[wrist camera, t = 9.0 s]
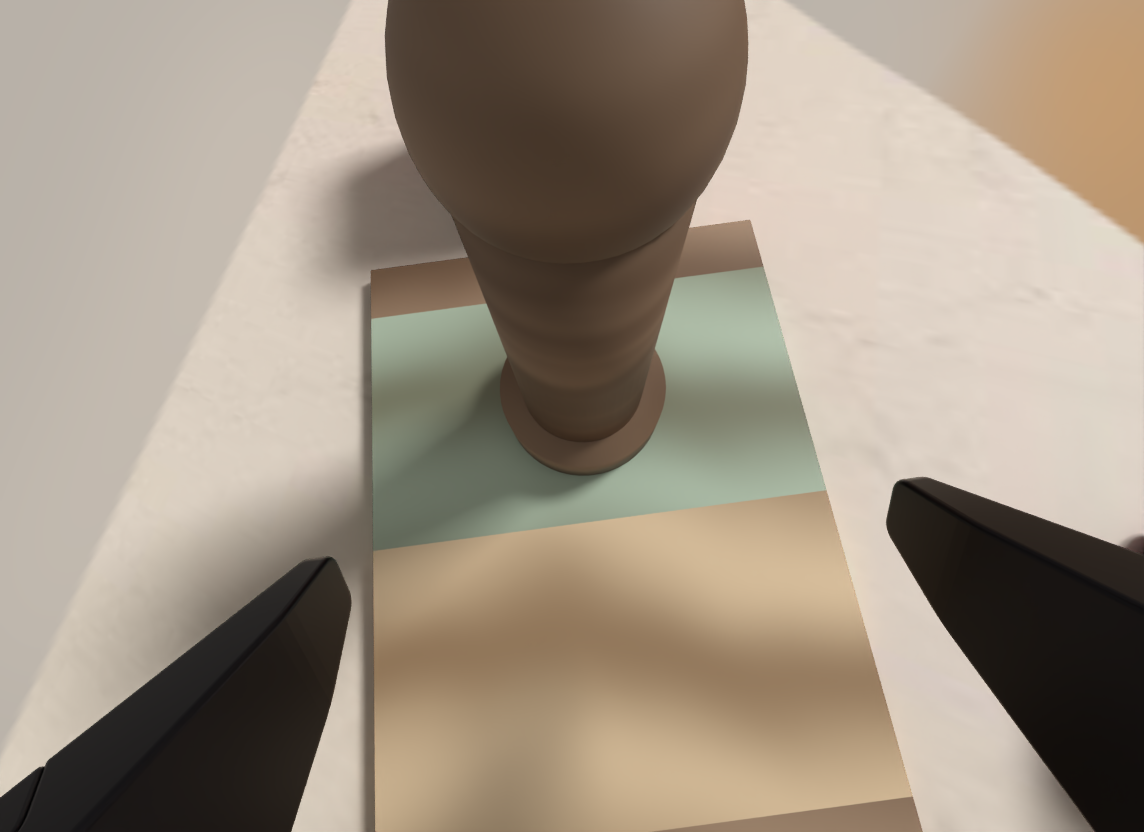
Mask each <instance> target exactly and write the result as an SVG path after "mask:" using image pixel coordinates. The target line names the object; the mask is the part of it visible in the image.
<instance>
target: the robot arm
mask: <svg viewBox="0 0 1144 832" xmlns="http://www.w3.org/2000/svg"><path fill="white" fill-rule="evenodd" d="M886 526H887V531H888V533H889V536H890V538H891V539H892V541H893V543H894V544H895V546H896V548H897V549H898V551H899V553H900V554H901V556H902V558H903V559H904V561H905V563H906V564H907V566H908V568H909V570H910V571H911V573H912V575H913V576H914V578H915V580H916V581H917V583H918V585H919V586H920V588H921V590H922V591H923V593H924V595H925V596H926V598H927V600H928V601H929V603H930V605H931V606H932V608H933V610H934V611H935V613H936V614H937V616H938V617H939V619H940V621H941V622H942V624H943V625H944V626H945V628H946V629H947V631H948V632H949V634H950V635H951V636H952V638H953V639H954V641H955V642H956V643H957V645H958V646H959V647H960V649H961V650H962V651H963V653H964V654H965V656H966V657H967V658H968V660H969V661H970V662H971V664H972V665H973V666H974V668H975V669H976V671H977V672H978V673H979V675H980V676H981V677H982V679H983V680H984V681H985V683H986V684H987V685H988V687H989V688H990V690H991V691H992V692H993V694H994V695H995V696H996V698H997V699H998V700H999V702H1000V703H1001V705H1002V706H1003V707H1004V709H1005V710H1006V711H1007V713H1008V714H1009V715H1010V717H1011V718H1012V720H1013V721H1014V722H1015V724H1016V725H1017V726H1018V728H1019V729H1020V730H1021V732H1022V733H1023V734H1024V736H1025V737H1026V739H1027V740H1028V741H1029V743H1030V744H1031V745H1032V747H1033V748H1034V749H1035V751H1036V752H1037V754H1038V755H1039V756H1040V758H1041V759H1042V760H1043V762H1044V763H1045V764H1046V766H1047V767H1048V769H1049V770H1050V771H1051V773H1052V774H1053V775H1054V777H1055V778H1056V779H1057V781H1058V782H1059V784H1060V785H1061V786H1062V788H1063V789H1064V790H1065V792H1066V793H1067V794H1068V796H1069V797H1070V798H1071V800H1072V801H1073V803H1074V804H1075V805H1076V807H1077V808H1078V809H1079V811H1080V812H1081V813H1082V815H1083V816H1084V818H1085V819H1086V820H1087V822H1088V823H1089V824H1090V826H1091V827H1092V828H1093V830H1094V831H1095V832H1144V555H1142V554H1140V553H1137V552H1134V551H1131V550H1129V549H1126V548H1123V547H1120V546H1117V545H1115V544H1112V543H1109V542H1106V541H1103V540H1101V539H1098V538H1095V537H1092V536H1090V535H1087V534H1084V533H1081V532H1078V531H1076V530H1073V529H1070V528H1067V527H1064V526H1062V525H1059V524H1056V523H1053V522H1051V521H1048V520H1045V519H1042V518H1039V517H1037V516H1034V515H1031V514H1028V513H1025V512H1023V511H1020V510H1017V509H1014V508H1012V507H1009V506H1006V505H1003V504H1000V503H998V502H995V501H992V500H989V499H987V498H984V497H981V496H978V495H975V494H973V493H970V492H967V491H964V490H961V489H959V488H956V487H953V486H950V485H948V484H945V483H942V482H939V481H936V480H934V479H931V478H928V477H916V478H909V479H902V480H899V481H897V482H896V484H895V485H894V487H893V491H892V496H891V500H890V505H889V510H888V514H887V519H886ZM350 611H351V595H350V591H349V589H348V587H347V584H346V582H345V580H344V578H343V575H342V573H341V571H340V568H339V566H338V564H337V562H336V560H335V559H334V558H332V557H329V556H326V557H318V558H310V559H306V560H304V561H302V562H301V563H299V564H298V565H297V566H296V567H294V568H293V569H292V570H290V571H289V572H288V573H287V574H285V575H284V576H283V577H282V578H280V579H279V580H278V581H276V582H275V583H274V584H273V585H271V586H270V587H269V588H267V589H266V590H265V591H264V592H262V593H261V594H260V595H259V596H257V597H256V598H255V599H253V600H252V601H251V602H250V603H248V604H247V605H246V606H244V607H243V608H242V609H241V610H239V611H238V612H237V613H236V614H234V615H233V616H232V617H230V618H229V619H228V620H227V621H225V622H224V623H223V624H221V625H220V626H219V627H218V628H216V629H215V630H214V631H213V632H211V633H210V634H209V635H207V636H206V637H205V638H204V639H202V640H201V641H200V642H198V643H197V644H196V645H195V646H193V647H192V648H191V649H190V650H188V651H187V652H186V653H184V654H183V655H182V656H181V657H179V658H178V659H177V660H175V661H174V662H173V663H172V664H170V665H169V666H168V667H167V668H165V669H164V670H163V671H161V672H160V673H159V674H158V675H156V676H155V677H154V678H152V679H151V680H150V681H149V682H147V683H146V684H145V685H144V686H142V687H141V688H140V689H138V690H137V691H136V692H135V693H133V694H132V695H131V696H129V697H128V698H127V699H126V700H124V701H123V702H122V703H121V704H119V705H118V706H117V707H115V708H114V709H113V710H112V711H110V712H109V713H108V714H106V715H105V716H104V717H103V718H101V719H100V720H99V721H98V722H96V723H95V724H94V725H92V726H91V727H90V728H89V729H87V730H86V731H85V732H83V733H82V734H81V735H80V736H78V737H77V738H76V739H75V740H73V741H72V742H71V743H69V744H68V745H67V746H66V747H64V748H63V749H62V750H60V751H59V752H58V753H57V754H55V755H54V756H53V757H52V758H50V759H49V760H48V761H47V763H46V765H45V767H39V768H37V769H36V770H35V771H33V772H32V773H31V774H30V775H28V776H27V777H26V778H25V779H23V780H22V781H21V782H19V783H18V784H17V785H16V786H14V787H13V788H12V789H11V790H9V791H8V792H7V793H6V794H4V795H3V796H2V797H0V832H291V831H292V827H293V824H294V821H295V818H296V815H297V812H298V808H299V805H300V802H301V799H302V796H303V792H304V789H305V786H306V783H307V780H308V777H309V773H310V770H311V767H312V764H313V761H314V757H315V754H316V751H317V748H318V745H319V742H320V738H321V735H322V732H323V729H324V726H325V722H326V719H327V716H328V712H329V709H330V705H331V702H332V697H333V693H334V689H335V684H336V679H337V674H338V670H339V665H340V660H341V655H342V650H343V645H344V640H345V635H346V630H347V626H348V621H349V616H350Z"/></svg>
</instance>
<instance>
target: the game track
mask: <svg viewBox="0 0 1144 832" xmlns="http://www.w3.org/2000/svg"><path fill="white" fill-rule="evenodd" d="M655 350H656V352H657V354H658V355H659V357H660V360H661V363H662V365H663V369H664V373H665V380H666V395H665V402H664V406H663V410H662V412H661V415H660V418H659V420H658V423H657V425H656V427H655V429H654V432H653V434H652V435H651V437H650V439H649V441H648V442H647V444H646V445H645V446H644V448H643V449H642V450H641V451H640V452H639V453H638V454H637V455H636V456H635V457H634V458H632V459H631V460H630V461H629V462H627V463H625V464H624V465H622V466H620V467H618V468H616V469H614V470H611V471H609V472H605V473H602V474H596V475H589V476H578V475H569V474H565V473H561V472H558V471H555V470H553V469H550V468H548V467H546V466H544V465H543V464H541V463H539V462H538V461H537V460H535V459H534V458H533V457H532V456H531V455H530V454H529V453H528V452H527V451H526V450H525V449H524V448H523V447H522V445H521V444H520V443H519V441H518V439H517V438H516V436H515V434H514V432H513V431H512V429H511V427H510V425H509V423H508V422H507V419H506V417H505V414H504V412H503V408H502V404H501V398H500V379H501V373H502V369H503V366H504V363H505V360H506V358H507V355H506V352H505V350H504V347H503V345H502V342H501V340H500V337H499V335H498V332H497V329H496V327H495V324H494V322H493V319H492V317H491V314H490V312H489V309H488V307H487V304H486V301H485V299H484V296H483V294H482V291H481V289H480V286H479V284H478V281H477V278H476V276H475V273H474V271H473V268H472V266H471V263H470V261H469V258H468V257H467V258H460V259H452V260H445V261H437V262H430V263H422V264H415V265H407V266H400V267H392V268H385V269H377V270H371V358H372V484H373V610H374V737H375V832H923V831H922V828H921V824H920V821H919V817H918V814H917V810H916V807H915V803H914V799H913V796H912V792H911V789H910V785H909V782H908V778H907V775H906V771H905V767H904V764H903V760H902V757H901V753H900V750H899V746H898V743H897V739H896V736H895V732H894V728H893V725H892V721H891V718H890V714H889V711H888V707H887V704H886V700H885V697H884V693H883V689H882V686H881V682H880V679H879V675H878V672H877V668H876V665H875V661H874V657H873V654H872V650H871V647H870V643H869V640H868V636H867V633H866V629H865V626H864V622H863V618H862V615H861V611H860V608H859V604H858V601H857V597H856V594H855V590H854V586H853V583H852V579H851V576H850V572H849V569H848V565H847V562H846V558H845V555H844V551H843V547H842V544H841V540H840V537H839V533H838V530H837V526H836V523H835V519H834V516H833V512H832V508H831V505H830V501H829V498H828V494H827V491H826V487H825V484H824V480H823V476H822V473H821V469H820V466H819V462H818V459H817V455H816V452H815V448H814V445H813V441H812V437H811V434H810V430H809V427H808V423H807V420H806V416H805V413H804V409H803V406H802V402H801V398H800V395H799V391H798V388H797V384H796V381H795V377H794V374H793V370H792V366H791V363H790V359H789V356H788V352H787V349H786V345H785V342H784V338H783V335H782V331H781V327H780V324H779V320H778V317H777V313H776V310H775V306H774V303H773V299H772V295H771V292H770V288H769V285H768V281H767V278H766V274H765V271H764V267H763V264H762V260H761V256H760V253H759V249H758V246H757V242H756V239H755V235H754V232H753V228H752V225H751V221H750V220H745V221H738V222H730V223H723V224H715V225H708V226H700V227H693V228H689V229H688V233H687V236H686V240H685V243H684V247H683V250H682V254H681V258H680V261H679V265H678V268H677V272H676V275H675V279H674V283H673V286H672V290H671V293H670V297H669V300H668V304H667V307H666V311H665V315H664V318H663V322H662V325H661V329H660V332H659V336H658V340H657V343H656V347H655Z"/></svg>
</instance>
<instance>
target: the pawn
mask: <svg viewBox="0 0 1144 832" xmlns="http://www.w3.org/2000/svg"><path fill="white" fill-rule="evenodd" d="M385 51H386V70H387V80H388V85H389V90H390V95H391V100H392V105H393V109H394V114H395V118H396V121H397V124H398V126H399V129H400V132H401V135H402V138H403V140H404V143H405V145H406V147H407V150H408V152H409V155H410V156H411V158H412V160H413V162H414V164H415V166H416V168H417V170H418V171H419V173H420V175H421V176H422V178H423V179H424V181H425V183H426V184H427V186H428V187H429V189H430V190H431V191H432V192H433V194H434V195H435V196H436V198H437V199H438V200H439V201H440V203H441V204H442V205H443V206H444V207H445V208H446V210H447V211H448V212H449V213H450V214H451V215H452V217H453V220H454V222H455V225H456V227H457V230H458V233H459V235H460V238H461V240H462V243H463V245H464V248H465V250H466V253H467V256H468V258H469V261H470V263H471V266H472V268H473V271H474V273H475V276H476V278H477V281H478V284H479V286H480V289H481V291H482V294H483V296H484V299H485V301H486V304H487V307H488V309H489V312H490V314H491V317H492V319H493V322H494V324H495V327H496V329H497V332H498V335H499V337H500V340H501V342H502V345H503V347H504V350H505V352H506V355H507V358H506V360H505V363H504V366H503V369H502V373H501V379H500V398H501V404H502V408H503V412H504V414H505V417H506V419H507V422H508V423H509V425H510V427H511V429H512V431H513V432H514V434H515V436H516V438H517V439H518V441H519V443H520V444H521V445H522V447H523V448H524V449H525V450H526V451H527V452H528V453H529V454H530V455H531V456H532V457H533V458H534V459H535V460H537V461H538V462H539V463H541V464H543V465H544V466H546V467H548V468H550V469H553V470H555V471H558V472H561V473H565V474H569V475H578V476H589V475H596V474H602V473H605V472H609V471H611V470H614V469H616V468H618V467H620V466H622V465H624V464H625V463H627V462H629V461H630V460H631V459H632V458H634V457H635V456H636V455H637V454H638V453H639V452H640V451H641V450H642V449H643V448H644V446H645V445H646V444H647V442H648V441H649V439H650V437H651V435H652V434H653V432H654V429H655V427H656V425H657V423H658V420H659V418H660V415H661V412H662V410H663V406H664V402H665V395H666V380H665V373H664V369H663V365H662V363H661V360H660V357H659V355H658V354H657V352H656V350H655V347H656V343H657V340H658V336H659V332H660V329H661V325H662V322H663V318H664V315H665V311H666V307H667V304H668V300H669V297H670V293H671V290H672V286H673V283H674V279H675V275H676V272H677V268H678V265H679V261H680V258H681V254H682V250H683V247H684V243H685V240H686V236H687V233H688V229H689V226H690V222H691V218H692V215H693V211H694V208H695V204H696V201H697V198H698V197H699V196H700V195H701V194H702V192H703V191H704V190H705V188H706V186H707V185H708V183H709V182H710V180H711V178H712V177H713V175H714V173H715V171H716V170H717V168H718V166H719V165H720V163H721V161H722V160H723V157H724V155H725V152H726V150H727V147H728V145H729V142H730V140H731V137H732V135H733V132H734V130H735V127H736V125H737V121H738V117H739V112H740V108H741V104H742V100H743V95H744V90H745V85H746V75H747V64H748V28H747V15H746V9H745V2H744V0H388V8H387V17H386V28H385Z"/></svg>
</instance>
